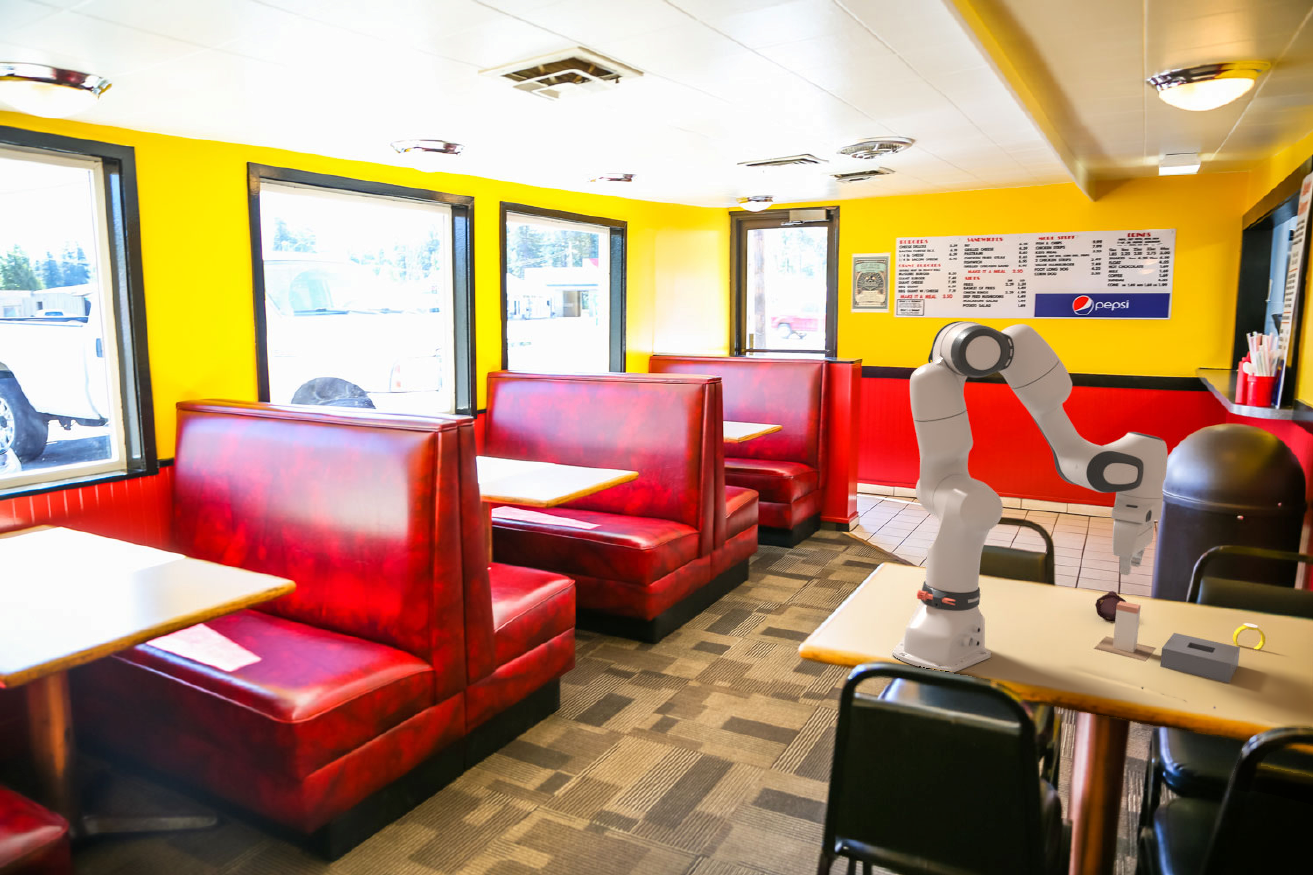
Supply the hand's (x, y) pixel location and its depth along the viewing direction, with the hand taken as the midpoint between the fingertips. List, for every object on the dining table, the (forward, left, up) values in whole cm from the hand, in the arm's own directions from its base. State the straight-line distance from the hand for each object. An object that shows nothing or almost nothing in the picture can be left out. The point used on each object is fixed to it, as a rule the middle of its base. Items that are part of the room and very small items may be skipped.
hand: (1130, 569), depth 183 cm
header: (0, -14, -19) cm, 24 cm away
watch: (+21, -20, -19) cm, 35 cm away
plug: (0, 0, -18) cm, 18 cm away
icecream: (+21, +7, -19) cm, 29 cm away
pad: (0, 0, -19) cm, 19 cm away
